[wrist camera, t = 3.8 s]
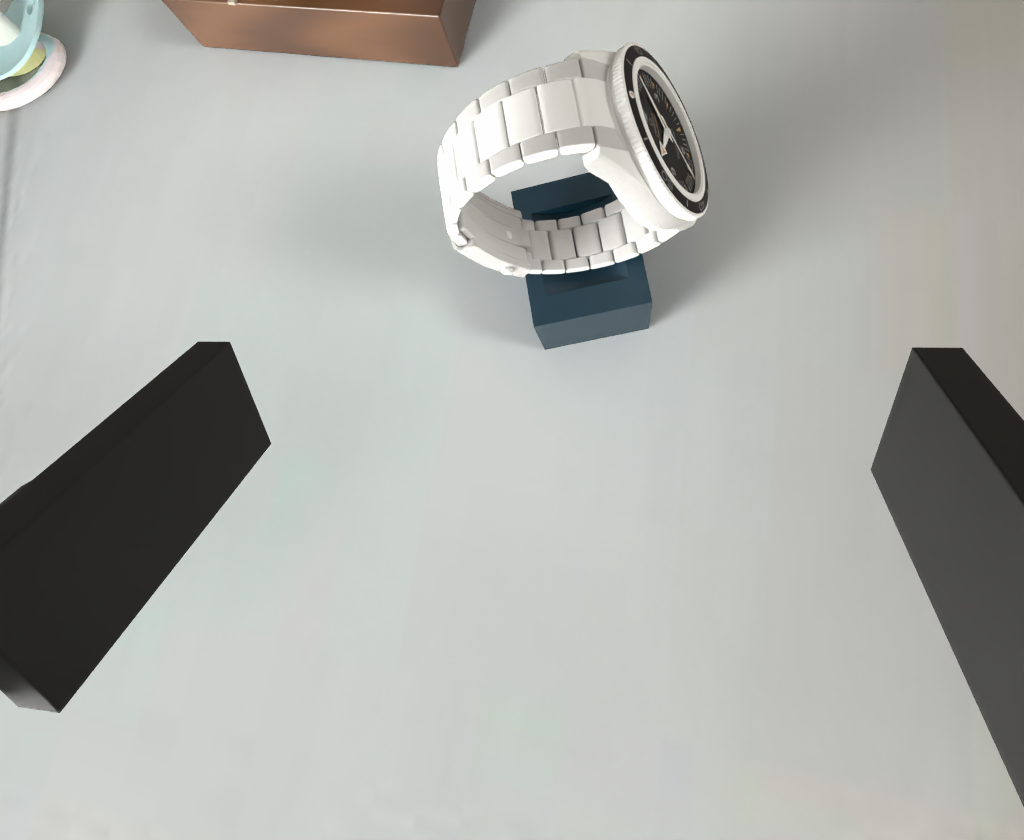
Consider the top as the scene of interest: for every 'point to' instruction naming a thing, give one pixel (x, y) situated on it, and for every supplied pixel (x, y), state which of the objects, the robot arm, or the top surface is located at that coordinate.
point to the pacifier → (27, 53)
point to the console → (334, 27)
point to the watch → (576, 187)
